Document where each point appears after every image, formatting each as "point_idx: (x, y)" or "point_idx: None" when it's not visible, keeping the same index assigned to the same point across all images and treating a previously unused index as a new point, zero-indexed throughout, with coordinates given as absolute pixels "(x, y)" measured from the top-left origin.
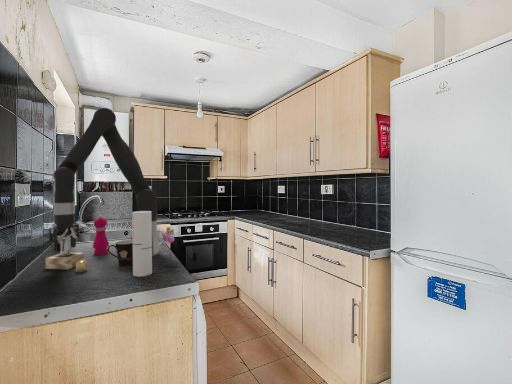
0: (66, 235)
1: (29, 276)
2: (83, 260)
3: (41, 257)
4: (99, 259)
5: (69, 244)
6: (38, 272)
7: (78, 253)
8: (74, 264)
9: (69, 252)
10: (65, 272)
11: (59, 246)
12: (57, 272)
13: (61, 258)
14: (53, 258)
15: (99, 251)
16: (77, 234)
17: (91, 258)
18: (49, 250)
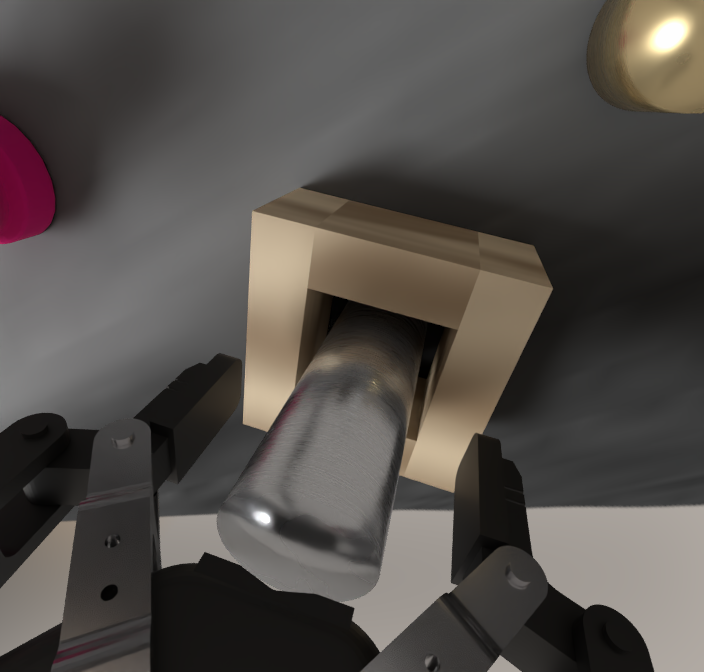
0: (294, 601)
1: (658, 456)
2: (671, 4)
3: (195, 514)
4: (184, 67)
5: (339, 416)
6: (553, 436)
7: (288, 269)
8: (438, 228)
9: (372, 348)
10: (656, 217)
11: (499, 497)
12: (618, 298)
13: (506, 362)
14: (481, 433)
15: (13, 169)
16: (38, 459)
17: (165, 186)
18: (71, 516)
